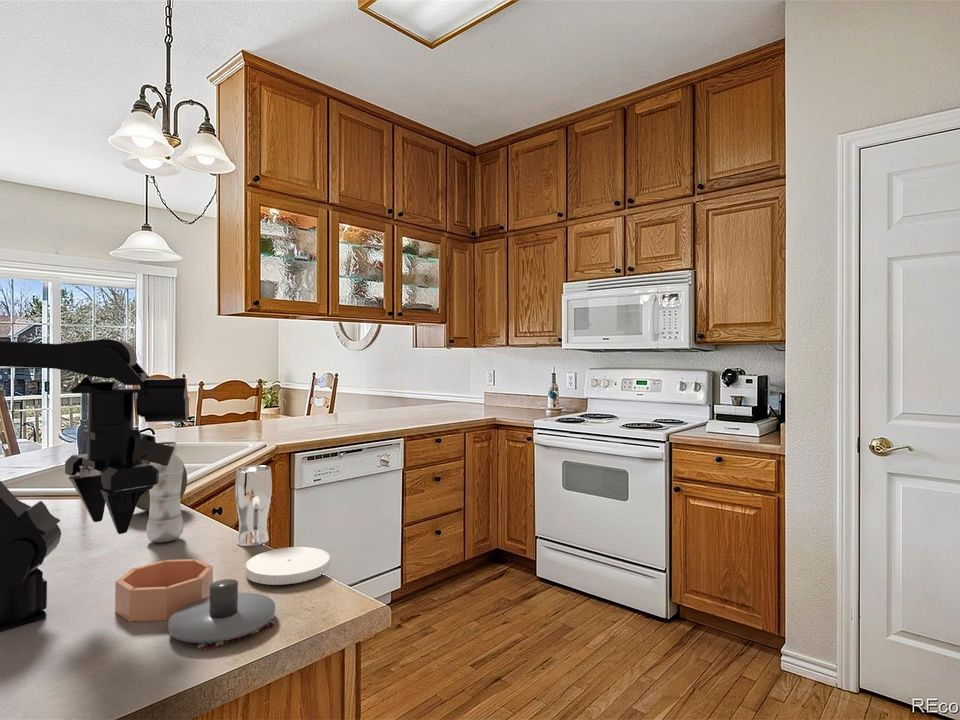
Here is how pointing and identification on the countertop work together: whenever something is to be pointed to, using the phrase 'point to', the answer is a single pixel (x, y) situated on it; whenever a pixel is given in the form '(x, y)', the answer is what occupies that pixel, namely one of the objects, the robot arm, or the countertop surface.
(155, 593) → the bowl
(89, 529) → the countertop surface
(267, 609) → the cover
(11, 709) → the countertop surface
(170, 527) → the plastic bottle
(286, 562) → the plastic lid
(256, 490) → the beer glass
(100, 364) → the robot arm
